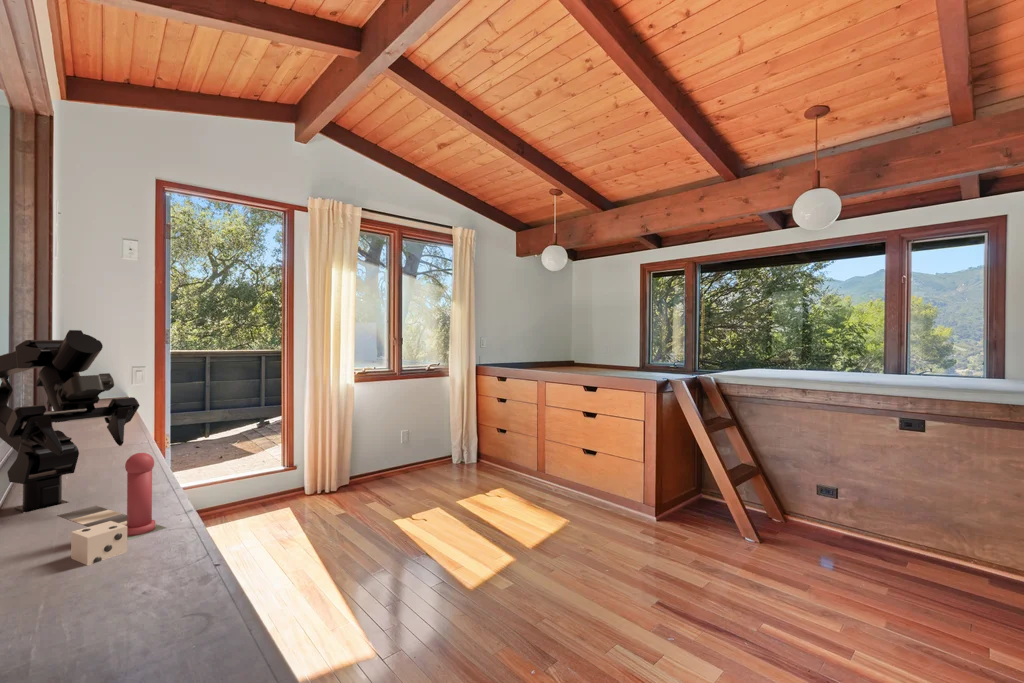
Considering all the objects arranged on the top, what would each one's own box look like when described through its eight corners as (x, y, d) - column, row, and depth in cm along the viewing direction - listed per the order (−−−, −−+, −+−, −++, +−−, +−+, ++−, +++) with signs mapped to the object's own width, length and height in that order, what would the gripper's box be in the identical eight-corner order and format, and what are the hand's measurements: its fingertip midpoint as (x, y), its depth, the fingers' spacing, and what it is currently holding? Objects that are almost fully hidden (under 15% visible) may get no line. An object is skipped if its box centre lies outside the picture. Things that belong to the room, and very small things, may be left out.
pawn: (117, 533, 81) (118, 454, 81) (146, 524, 85) (147, 449, 85) (131, 538, 79) (132, 457, 79) (160, 528, 83) (161, 451, 83)
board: (54, 521, 89) (54, 516, 89) (98, 510, 95) (98, 505, 95) (124, 547, 78) (124, 541, 78) (169, 532, 84) (169, 526, 84)
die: (71, 564, 72) (71, 531, 72) (110, 551, 76) (110, 520, 76) (87, 571, 70) (87, 537, 70) (127, 558, 74) (127, 525, 74)
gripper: (13, 362, 84) (40, 429, 79) (135, 359, 100) (164, 414, 96) (-6, 403, 87) (20, 471, 82) (115, 394, 104) (142, 449, 99)
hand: (92, 449), depth 90 cm, fingers open, 9 cm apart
